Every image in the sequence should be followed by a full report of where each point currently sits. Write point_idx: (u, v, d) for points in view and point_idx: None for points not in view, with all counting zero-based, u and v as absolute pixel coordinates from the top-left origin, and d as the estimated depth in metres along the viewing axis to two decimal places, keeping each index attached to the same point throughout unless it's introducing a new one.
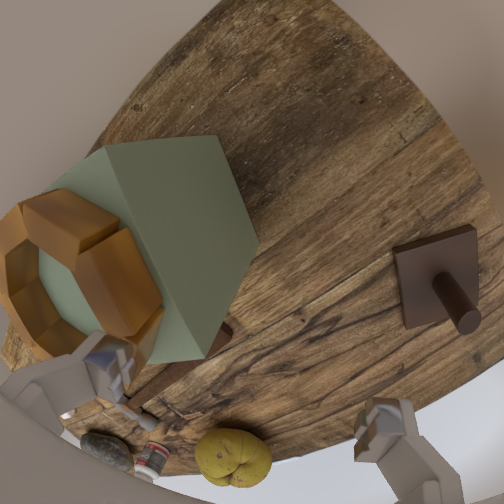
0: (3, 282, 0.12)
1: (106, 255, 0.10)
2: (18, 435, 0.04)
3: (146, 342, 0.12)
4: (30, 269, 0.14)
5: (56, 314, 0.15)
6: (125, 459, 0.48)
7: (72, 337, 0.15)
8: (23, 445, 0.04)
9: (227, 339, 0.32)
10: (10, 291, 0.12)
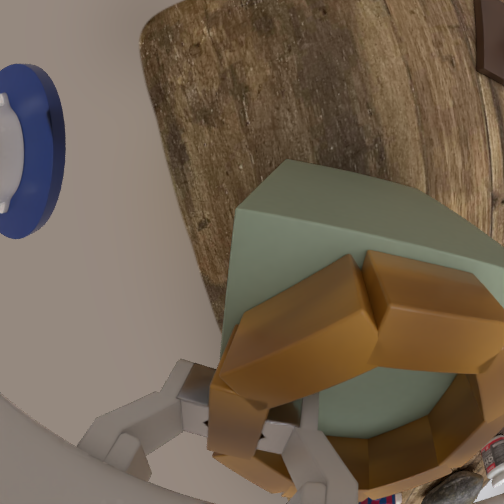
0: (278, 480, 0.08)
1: (404, 289, 0.06)
2: (18, 435, 0.04)
3: None
4: None
5: (361, 441, 0.10)
6: (473, 481, 0.30)
7: (402, 439, 0.09)
8: (23, 445, 0.04)
9: None
10: None
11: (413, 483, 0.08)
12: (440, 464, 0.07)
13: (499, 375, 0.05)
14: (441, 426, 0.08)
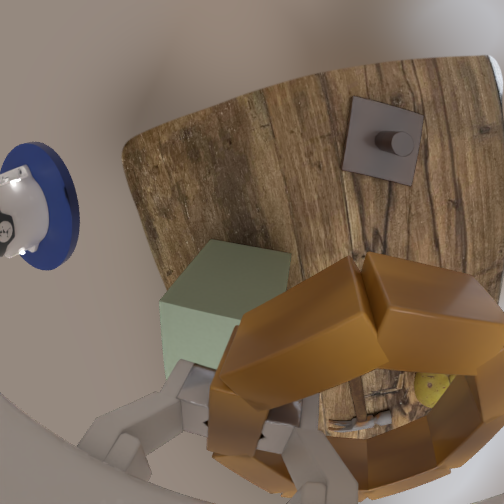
0: (277, 480, 0.08)
1: (403, 291, 0.06)
2: (18, 435, 0.04)
3: None
4: None
5: (360, 442, 0.10)
6: None
7: (401, 440, 0.09)
8: (23, 445, 0.04)
9: None
10: None
11: (412, 484, 0.08)
12: (439, 465, 0.07)
13: (498, 376, 0.05)
14: (440, 427, 0.08)
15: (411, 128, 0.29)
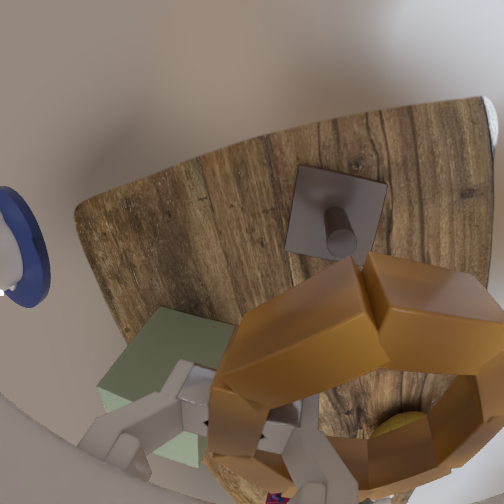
0: (278, 480, 0.08)
1: (405, 290, 0.06)
2: (18, 435, 0.04)
3: None
4: None
5: (360, 442, 0.10)
6: (367, 499, 0.47)
7: (401, 440, 0.09)
8: (23, 445, 0.04)
9: None
10: None
11: (412, 484, 0.08)
12: (439, 465, 0.07)
13: (498, 376, 0.05)
14: (440, 427, 0.08)
15: (370, 201, 0.27)
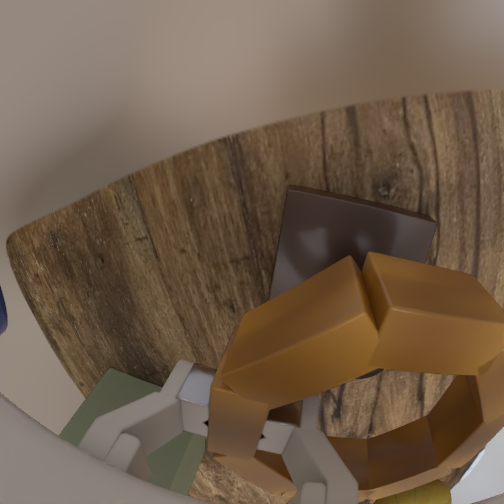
0: (278, 480, 0.08)
1: (404, 290, 0.06)
2: (18, 435, 0.04)
3: None
4: None
5: (360, 442, 0.10)
6: None
7: (401, 440, 0.09)
8: (23, 445, 0.04)
9: None
10: None
11: (412, 484, 0.08)
12: (439, 465, 0.07)
13: (498, 376, 0.05)
14: (440, 427, 0.08)
15: (407, 250, 0.16)
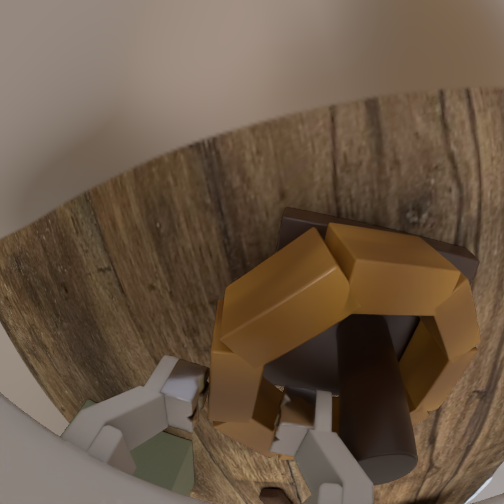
0: None
1: (365, 248, 0.08)
2: (18, 435, 0.04)
3: None
4: (278, 400, 0.12)
5: None
6: None
7: None
8: (23, 445, 0.04)
9: (275, 500, 0.22)
10: None
11: None
12: (417, 407, 0.10)
13: (454, 316, 0.08)
14: (411, 374, 0.11)
15: None
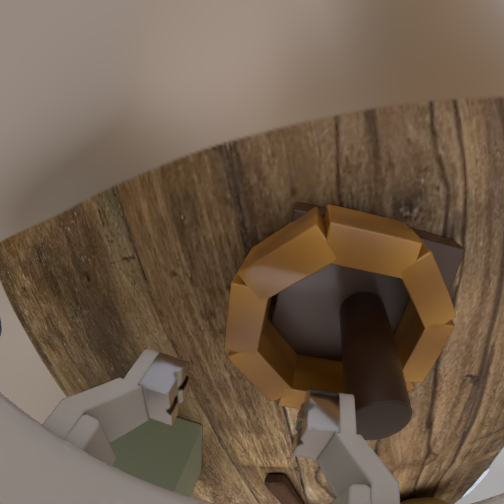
0: (275, 380, 0.14)
1: (343, 218, 0.11)
2: (18, 435, 0.04)
3: None
4: (286, 351, 0.15)
5: (340, 363, 0.16)
6: None
7: None
8: (23, 445, 0.04)
9: (280, 485, 0.24)
10: (288, 382, 0.14)
11: None
12: None
13: (421, 283, 0.10)
14: (399, 344, 0.13)
15: None
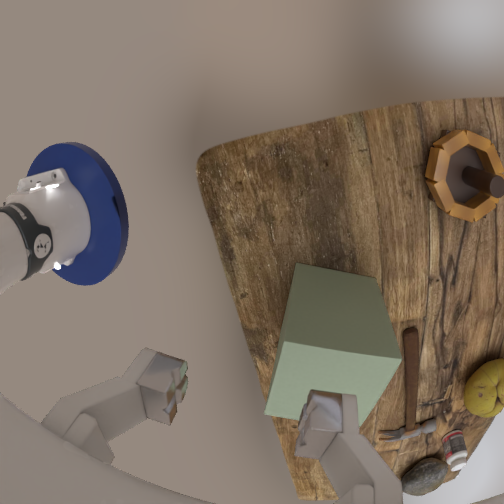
0: (450, 197, 0.27)
1: None
2: (18, 435, 0.04)
3: None
4: None
5: (462, 203, 0.29)
6: (438, 466, 0.46)
7: (475, 198, 0.28)
8: (23, 445, 0.04)
9: (416, 334, 0.38)
10: None
11: (485, 209, 0.27)
12: (490, 196, 0.26)
13: (492, 154, 0.24)
14: None
15: None
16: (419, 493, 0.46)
